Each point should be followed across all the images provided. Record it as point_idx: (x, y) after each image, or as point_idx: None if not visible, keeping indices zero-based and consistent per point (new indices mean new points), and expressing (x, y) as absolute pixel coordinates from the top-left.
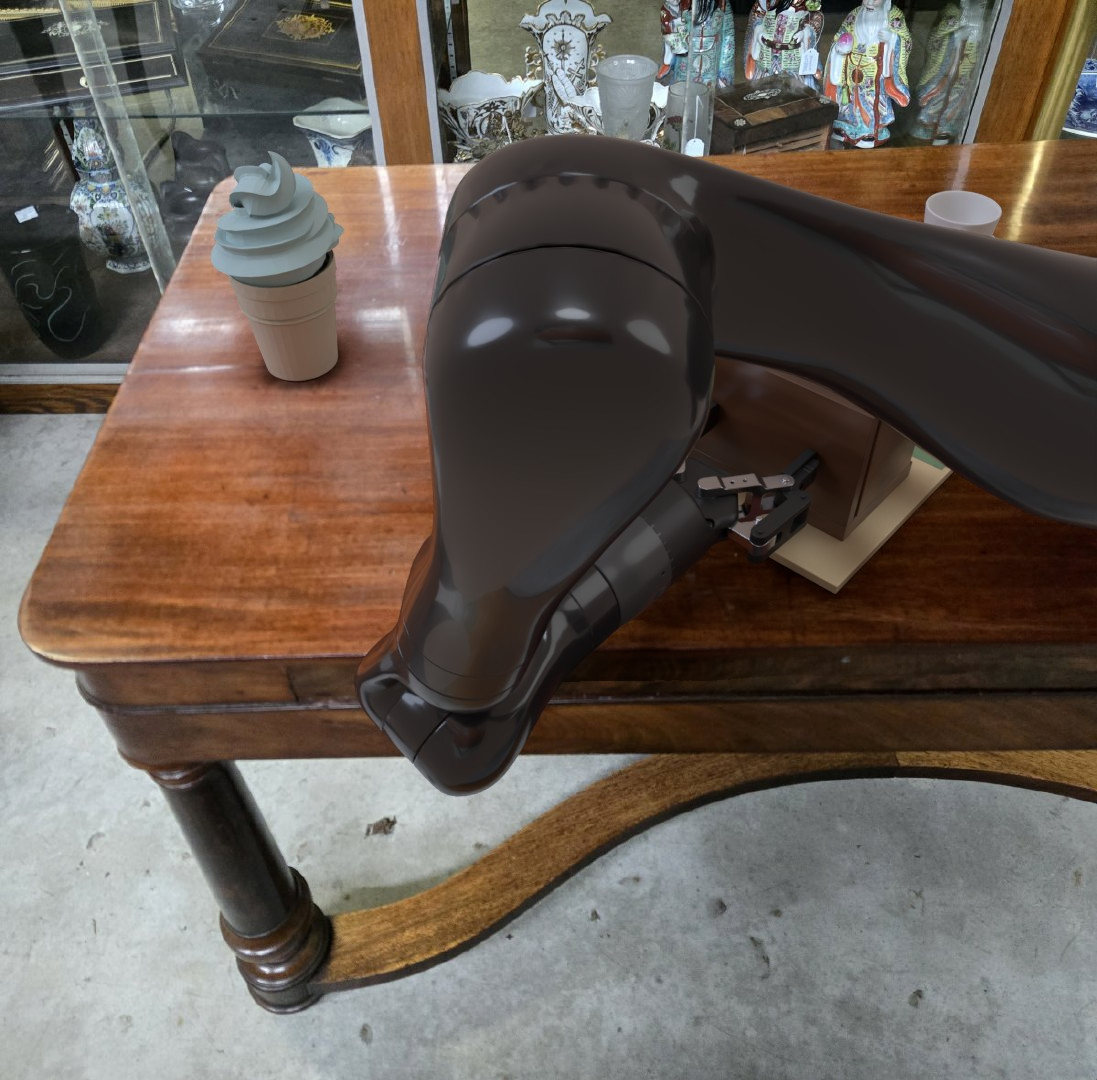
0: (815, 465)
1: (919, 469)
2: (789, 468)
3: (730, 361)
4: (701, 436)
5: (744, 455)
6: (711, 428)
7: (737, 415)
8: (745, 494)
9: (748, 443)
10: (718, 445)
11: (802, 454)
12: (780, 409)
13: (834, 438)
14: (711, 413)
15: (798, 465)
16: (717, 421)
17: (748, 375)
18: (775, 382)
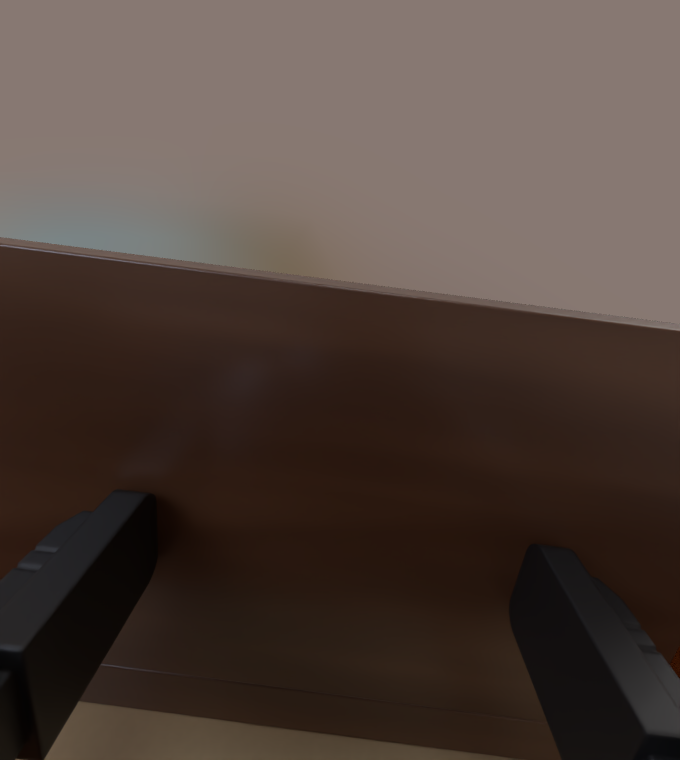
0: (615, 602)
1: None
2: (634, 685)
3: (175, 302)
4: (106, 649)
5: (273, 634)
6: (141, 591)
7: (232, 512)
8: (292, 744)
9: (286, 593)
10: (173, 630)
11: (564, 579)
12: (412, 437)
13: (638, 479)
14: (132, 537)
15: (626, 643)
16: (157, 556)
17: (264, 340)
18: (389, 332)
